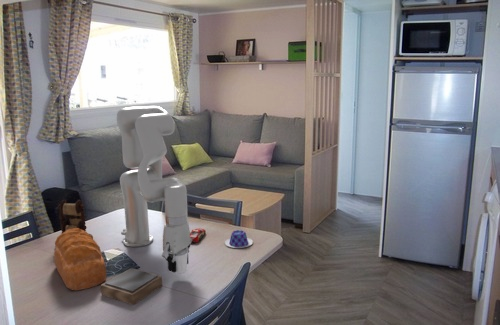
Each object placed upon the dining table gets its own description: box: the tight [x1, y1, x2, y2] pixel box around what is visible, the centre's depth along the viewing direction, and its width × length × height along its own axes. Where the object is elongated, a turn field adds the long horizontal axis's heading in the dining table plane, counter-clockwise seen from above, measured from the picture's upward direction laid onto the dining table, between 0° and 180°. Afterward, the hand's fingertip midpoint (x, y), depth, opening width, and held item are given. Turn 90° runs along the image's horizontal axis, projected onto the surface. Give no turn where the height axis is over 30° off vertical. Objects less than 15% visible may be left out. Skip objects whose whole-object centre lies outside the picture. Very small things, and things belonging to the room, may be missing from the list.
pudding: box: [224, 229, 254, 249], centre depth 182 cm, size 12×12×5 cm
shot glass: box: [170, 248, 189, 274], centre depth 150 cm, size 7×7×7 cm
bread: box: [53, 228, 107, 291], centre depth 155 cm, size 14×26×16 cm, turn 34°
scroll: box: [57, 199, 94, 239], centre depth 181 cm, size 15×15×20 cm
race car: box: [190, 228, 207, 243], centre depth 189 cm, size 13×5×4 cm, turn 167°
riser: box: [100, 267, 163, 306], centre depth 144 cm, size 14×14×4 cm
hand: (178, 266), depth 151 cm, fingers closed on shot glass, 6 cm apart
